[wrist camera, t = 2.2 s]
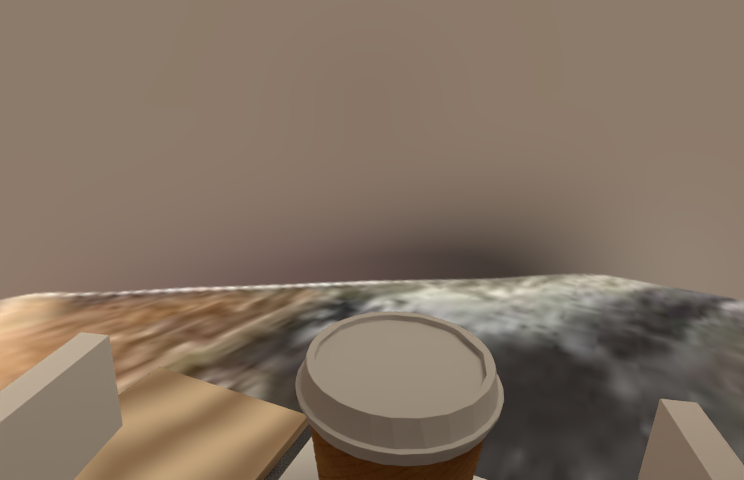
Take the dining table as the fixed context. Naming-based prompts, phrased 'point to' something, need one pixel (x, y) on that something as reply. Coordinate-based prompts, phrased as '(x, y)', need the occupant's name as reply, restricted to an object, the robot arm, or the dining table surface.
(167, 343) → the dining table surface
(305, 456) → the mat
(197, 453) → the oak coaster
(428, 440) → the disposable coffee cup
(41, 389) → the robot arm
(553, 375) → the dining table surface
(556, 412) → the dining table surface
